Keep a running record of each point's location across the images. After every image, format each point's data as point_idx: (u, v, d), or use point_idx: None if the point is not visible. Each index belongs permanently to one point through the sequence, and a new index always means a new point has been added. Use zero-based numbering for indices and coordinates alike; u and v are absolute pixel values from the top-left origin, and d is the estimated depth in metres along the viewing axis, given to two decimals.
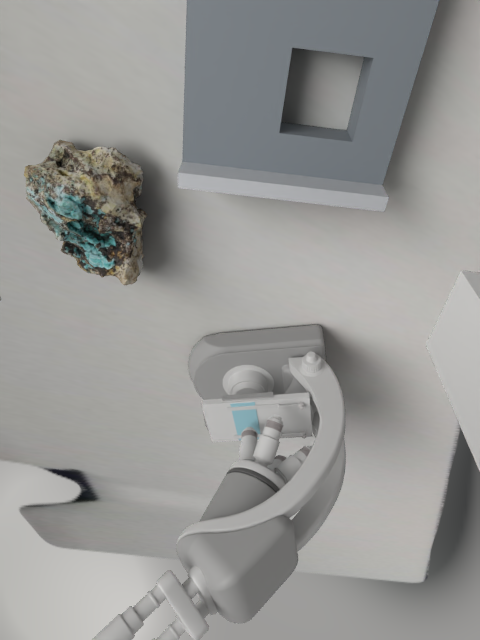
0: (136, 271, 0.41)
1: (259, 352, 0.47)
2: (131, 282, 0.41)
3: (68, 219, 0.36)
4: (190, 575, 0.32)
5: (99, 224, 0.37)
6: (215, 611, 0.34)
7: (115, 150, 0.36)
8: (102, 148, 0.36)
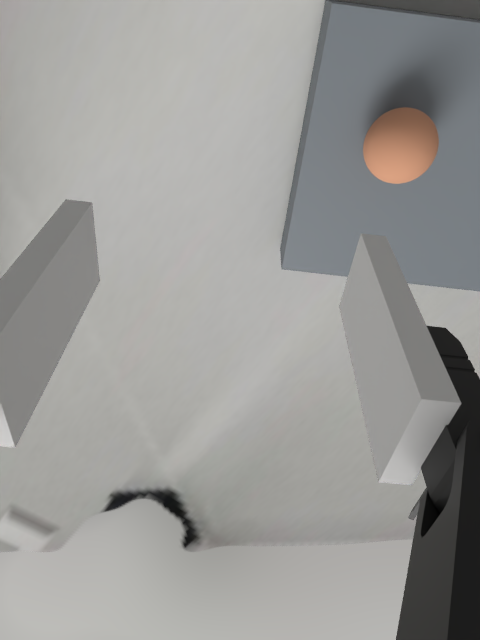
0: None
1: None
2: None
3: None
4: None
5: None
6: None
7: None
8: None
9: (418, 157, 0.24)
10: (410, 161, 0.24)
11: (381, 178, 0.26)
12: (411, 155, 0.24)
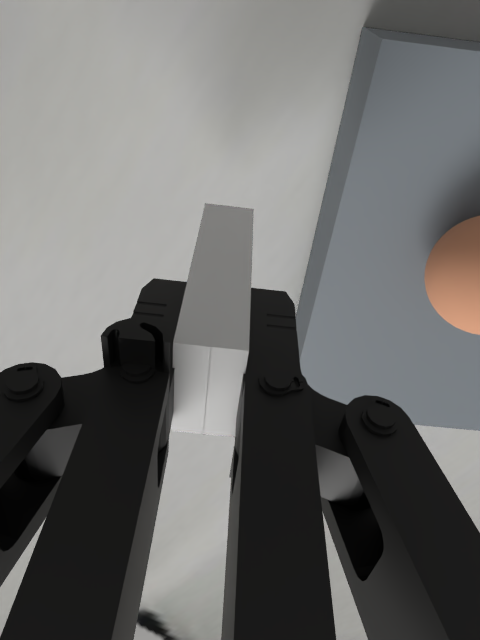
0: None
1: None
2: None
3: None
4: None
5: None
6: None
7: None
8: None
9: None
10: None
11: (457, 327, 0.15)
12: None
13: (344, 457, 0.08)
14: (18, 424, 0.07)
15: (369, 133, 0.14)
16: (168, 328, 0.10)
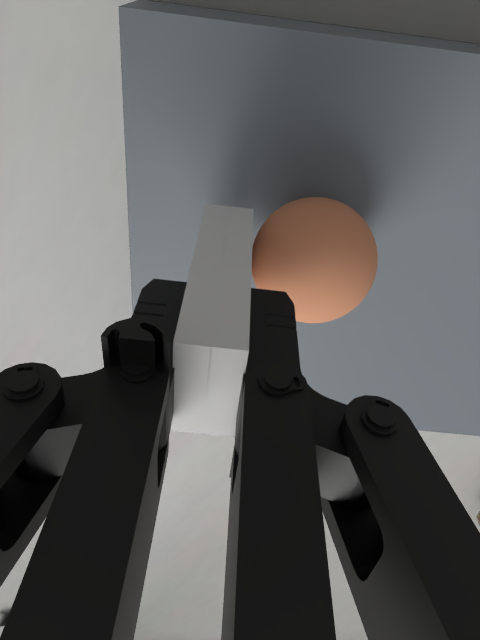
0: None
1: None
2: None
3: None
4: None
5: None
6: None
7: None
8: None
9: (368, 285, 0.14)
10: (359, 295, 0.14)
11: (304, 322, 0.15)
12: (361, 287, 0.13)
13: (344, 457, 0.08)
14: (18, 424, 0.07)
15: (135, 108, 0.14)
16: (168, 328, 0.10)
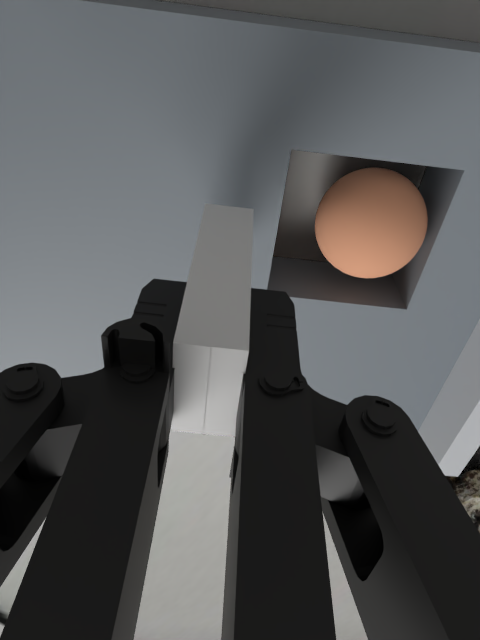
0: None
1: None
2: None
3: None
4: None
5: None
6: None
7: None
8: None
9: (419, 244, 0.16)
10: (411, 252, 0.16)
11: (360, 277, 0.17)
12: (413, 245, 0.16)
13: (344, 457, 0.08)
14: (18, 424, 0.07)
15: None
16: (168, 329, 0.10)
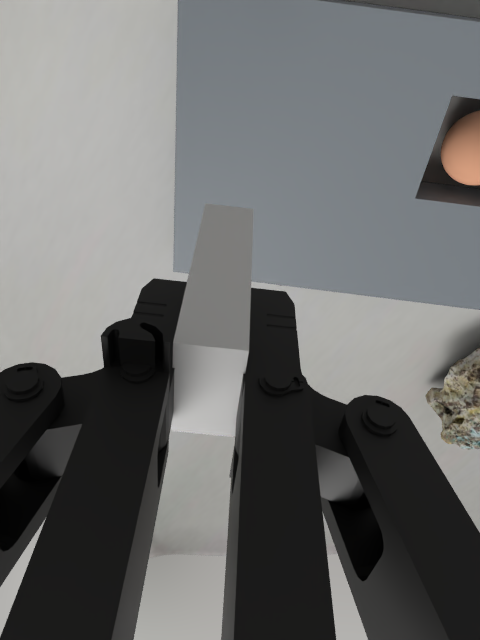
0: None
1: None
2: None
3: None
4: None
5: None
6: None
7: (453, 368, 0.35)
8: (447, 378, 0.36)
9: None
10: None
11: (466, 181, 0.26)
12: None
13: (344, 456, 0.08)
14: (18, 424, 0.07)
15: (184, 45, 0.23)
16: (168, 328, 0.10)
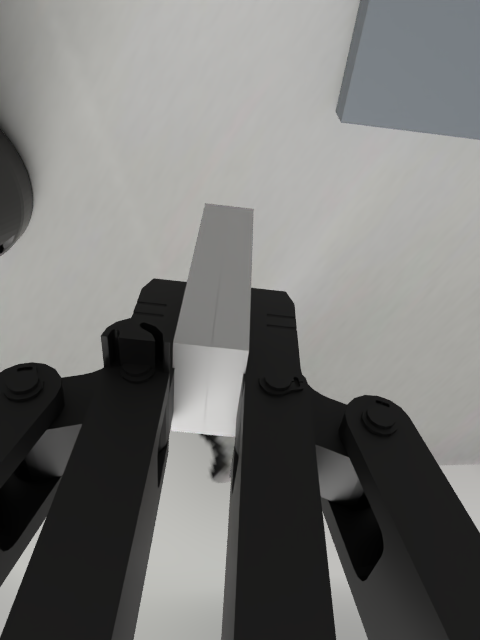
0: None
1: None
2: None
3: None
4: None
5: None
6: None
7: None
8: None
9: None
10: None
11: None
12: None
13: (344, 457, 0.08)
14: (18, 424, 0.07)
15: None
16: (168, 329, 0.10)
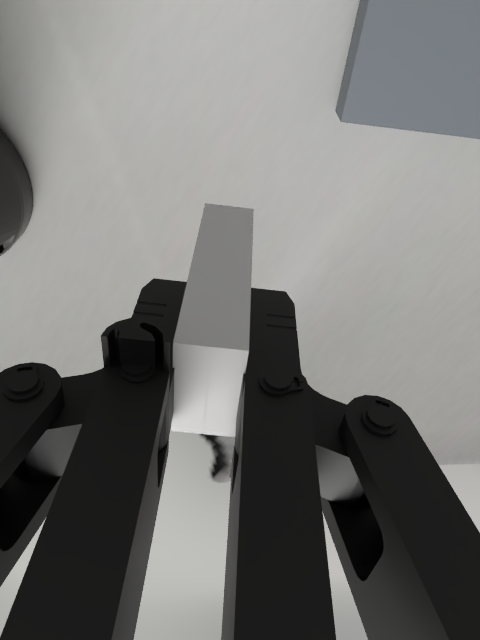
0: None
1: None
2: None
3: None
4: None
5: None
6: None
7: None
8: None
9: None
10: None
11: None
12: None
13: (344, 457, 0.08)
14: (18, 424, 0.07)
15: None
16: (168, 329, 0.10)
